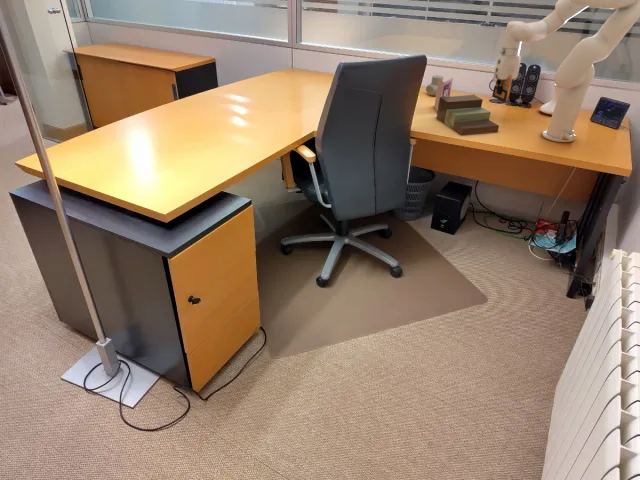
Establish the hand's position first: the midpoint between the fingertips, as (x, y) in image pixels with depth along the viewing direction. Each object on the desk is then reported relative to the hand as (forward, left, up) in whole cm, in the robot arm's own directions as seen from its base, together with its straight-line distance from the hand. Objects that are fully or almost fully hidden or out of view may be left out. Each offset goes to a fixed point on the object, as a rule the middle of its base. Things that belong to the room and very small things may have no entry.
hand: (501, 93), depth 202 cm
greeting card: (+19, +21, -12) cm, 31 cm away
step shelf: (-5, +19, -12) cm, 23 cm away
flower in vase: (+1, -33, -12) cm, 35 cm away
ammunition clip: (0, 0, -3) cm, 3 cm away
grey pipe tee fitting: (+44, +10, -12) cm, 46 cm away
